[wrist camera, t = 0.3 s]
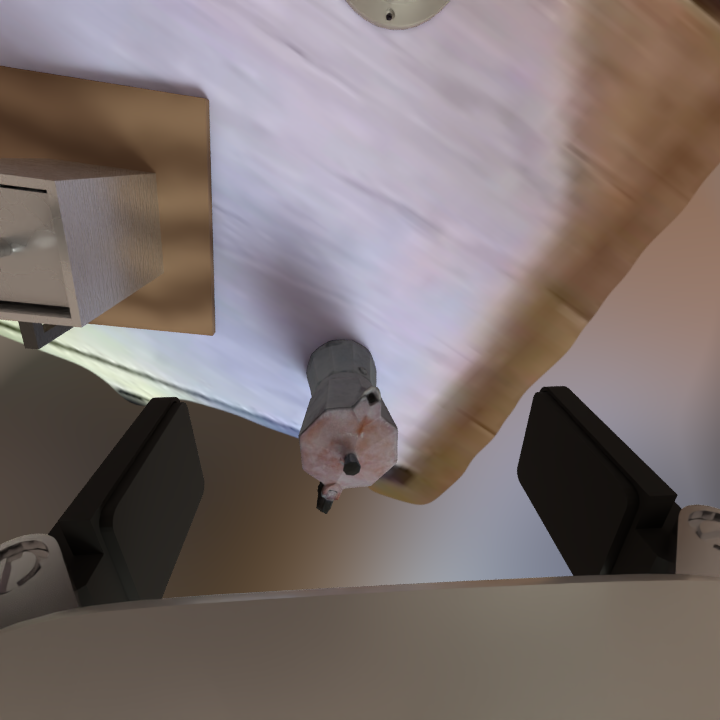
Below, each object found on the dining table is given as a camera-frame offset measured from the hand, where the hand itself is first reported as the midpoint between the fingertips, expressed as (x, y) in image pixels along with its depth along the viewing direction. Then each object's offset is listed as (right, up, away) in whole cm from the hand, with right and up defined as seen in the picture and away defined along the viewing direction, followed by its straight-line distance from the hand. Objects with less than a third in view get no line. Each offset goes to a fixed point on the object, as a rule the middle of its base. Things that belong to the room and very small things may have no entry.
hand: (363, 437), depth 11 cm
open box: (-26, +15, +31) cm, 43 cm away
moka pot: (-2, +1, +41) cm, 42 cm away
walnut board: (-26, +17, +31) cm, 44 cm away
